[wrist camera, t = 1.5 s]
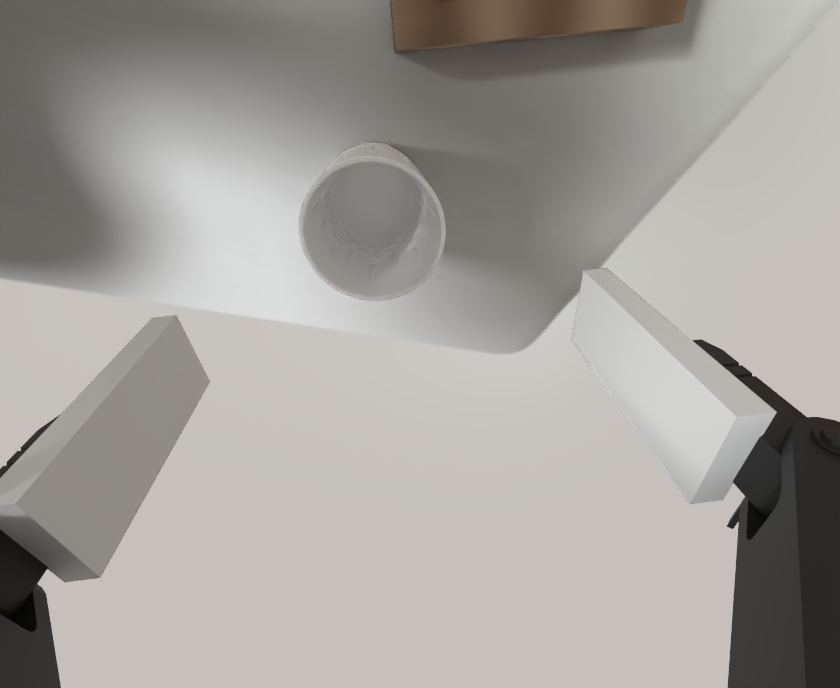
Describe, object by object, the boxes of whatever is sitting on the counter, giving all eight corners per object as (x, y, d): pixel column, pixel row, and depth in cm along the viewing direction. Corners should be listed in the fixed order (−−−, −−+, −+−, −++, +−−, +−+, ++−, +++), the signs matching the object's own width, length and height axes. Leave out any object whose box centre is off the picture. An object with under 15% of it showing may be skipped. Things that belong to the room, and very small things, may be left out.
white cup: (432, 233, 32) (452, 289, 23) (336, 249, 32) (322, 310, 23) (419, 122, 27) (437, 144, 19) (307, 141, 27) (277, 171, 19)
